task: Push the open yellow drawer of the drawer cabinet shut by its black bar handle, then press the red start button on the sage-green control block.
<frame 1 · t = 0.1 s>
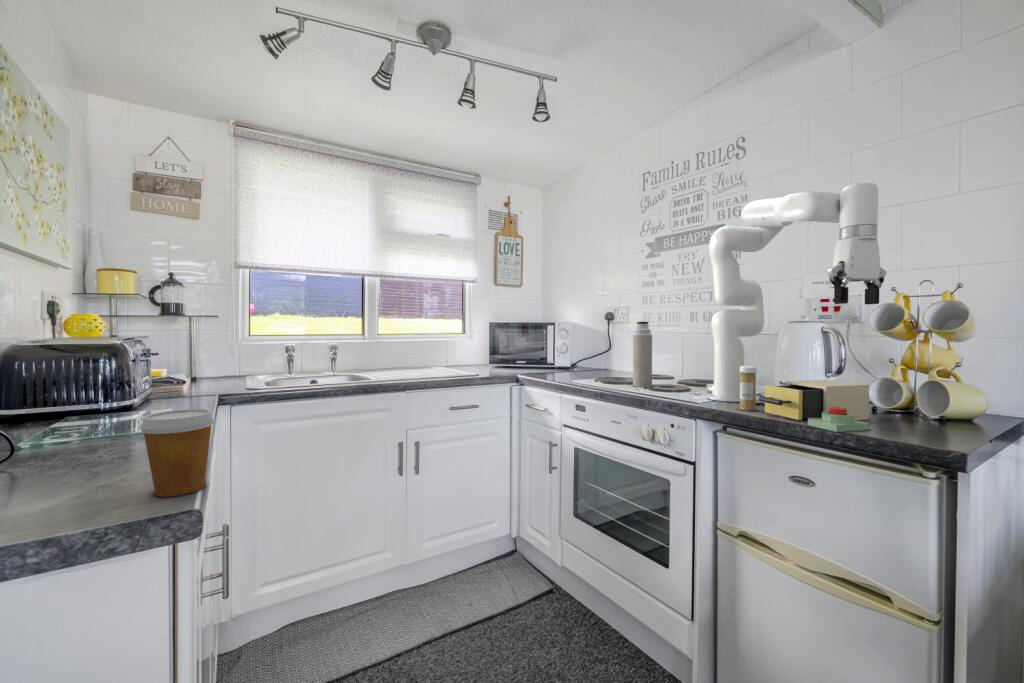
hand: (856, 303, 111), 31 cm above the worktop, tool pointing down, fingers open, 9 cm apart
sprinkles bottle: (747, 410, 137), on the worktop
thermos bottle: (642, 386, 194), on the worktop
drawer cabinet: (826, 416, 126), on the worktop
yellow drawer: (794, 401, 124), point 5 cm above the worktop, slide at 7.0 cm
start button: (838, 411, 112), point 4 cm above the worktop, slide at 0.1 cm
control block: (837, 427, 112), on the worktop
disposable coffee cup: (180, 490, 70), on the worktop
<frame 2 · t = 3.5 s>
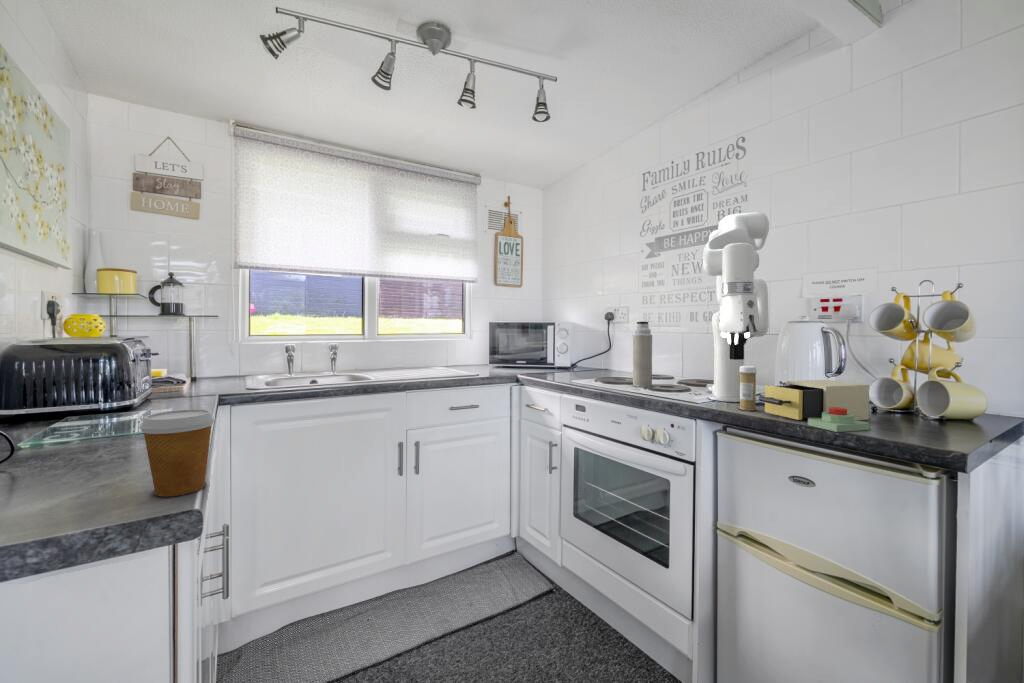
hand: (736, 359, 119), 17 cm above the worktop, tool pointing down, fingers closed
nothing on the worktop moved.
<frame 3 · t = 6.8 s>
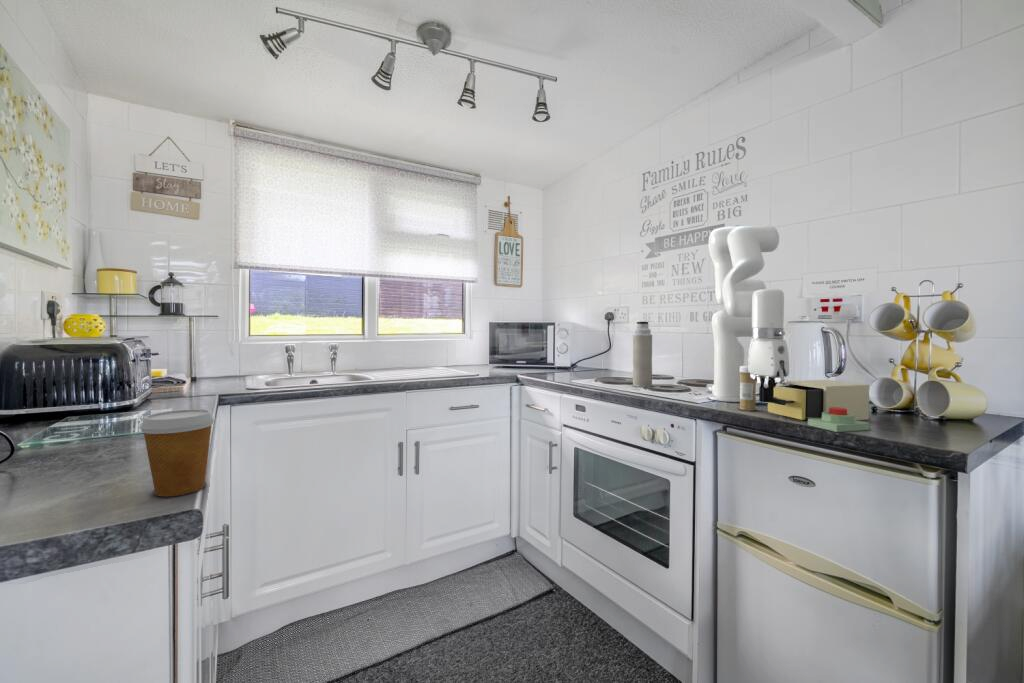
hand: (766, 401, 121), 5 cm above the worktop, tool pointing down, fingers closed
yellow drawer: (797, 401, 124), point 5 cm above the worktop, slide at 6.0 cm, touching gripper
everything else where it was.
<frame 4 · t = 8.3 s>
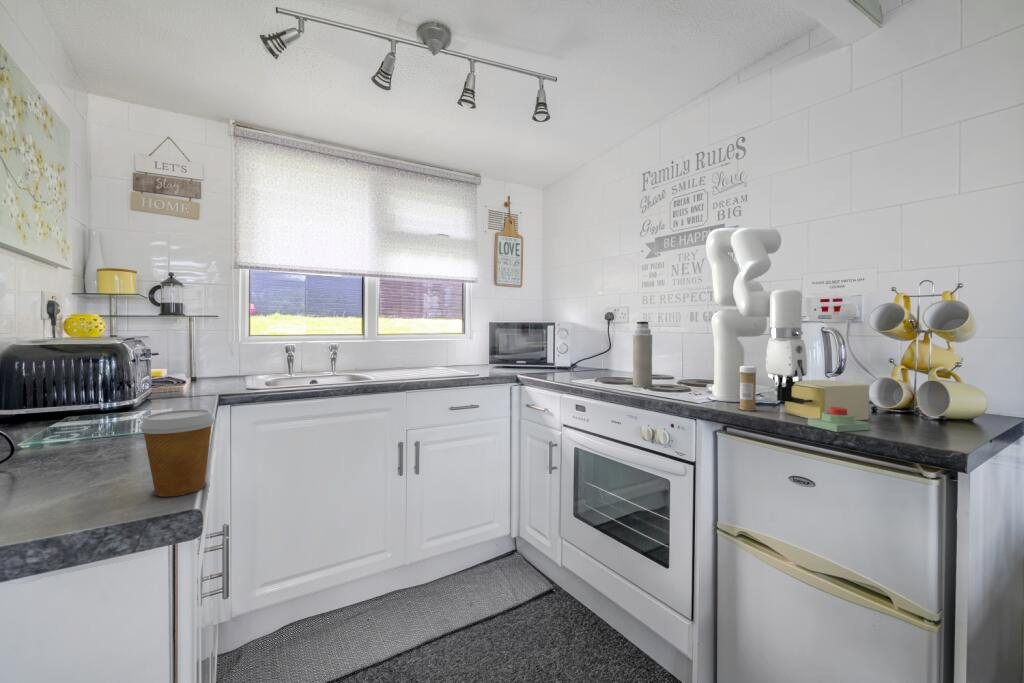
hand: (784, 400, 123), 5 cm above the worktop, tool pointing down, fingers closed
yellow drawer: (815, 400, 125), point 5 cm above the worktop, slide at 0.0 cm, touching drawer cabinet, gripper
everything else where it was.
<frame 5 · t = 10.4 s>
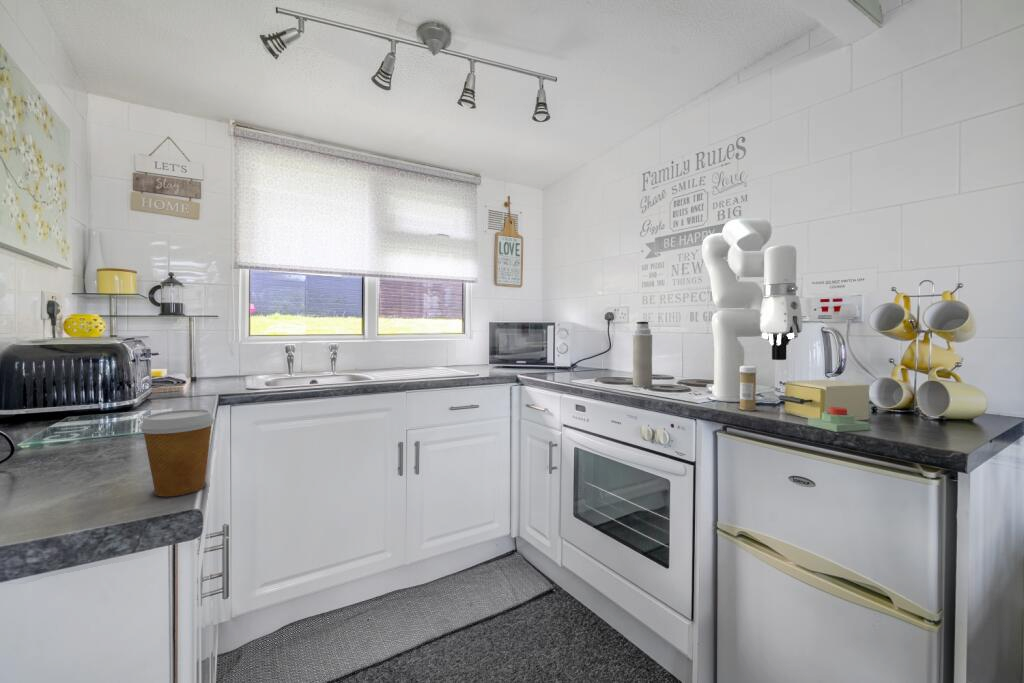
hand: (779, 359, 121), 17 cm above the worktop, tool pointing down, fingers closed
yellow drawer: (815, 400, 125), point 5 cm above the worktop, slide at 0.0 cm, touching drawer cabinet
everything else where it was.
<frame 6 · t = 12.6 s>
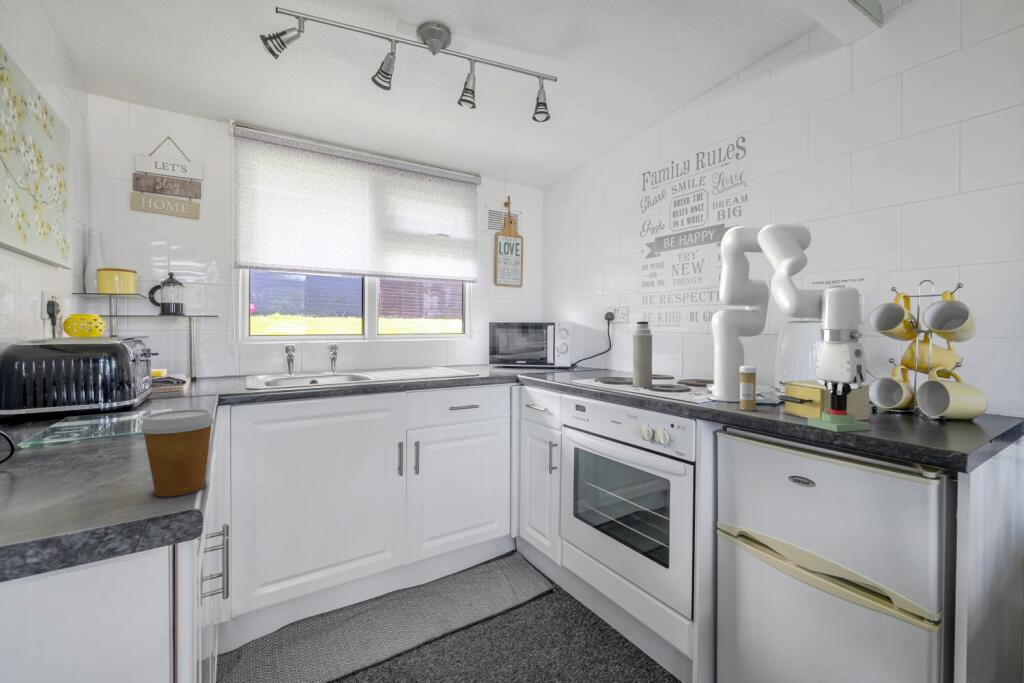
hand: (838, 409, 112), 5 cm above the worktop, tool pointing down, fingers closed
start button: (838, 413, 112), point 4 cm above the worktop, slide at -0.2 cm, touching gripper
everything else where it was.
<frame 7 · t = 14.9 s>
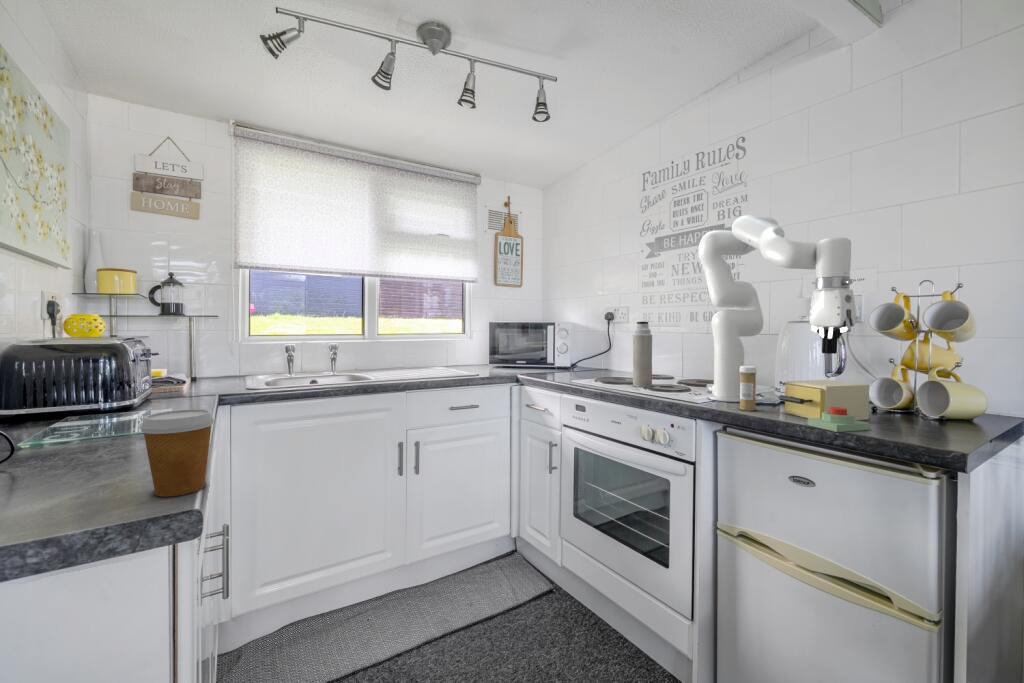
hand: (829, 353, 120), 18 cm above the worktop, tool pointing down, fingers closed
start button: (838, 411, 112), point 4 cm above the worktop, slide at 0.1 cm
everything else where it was.
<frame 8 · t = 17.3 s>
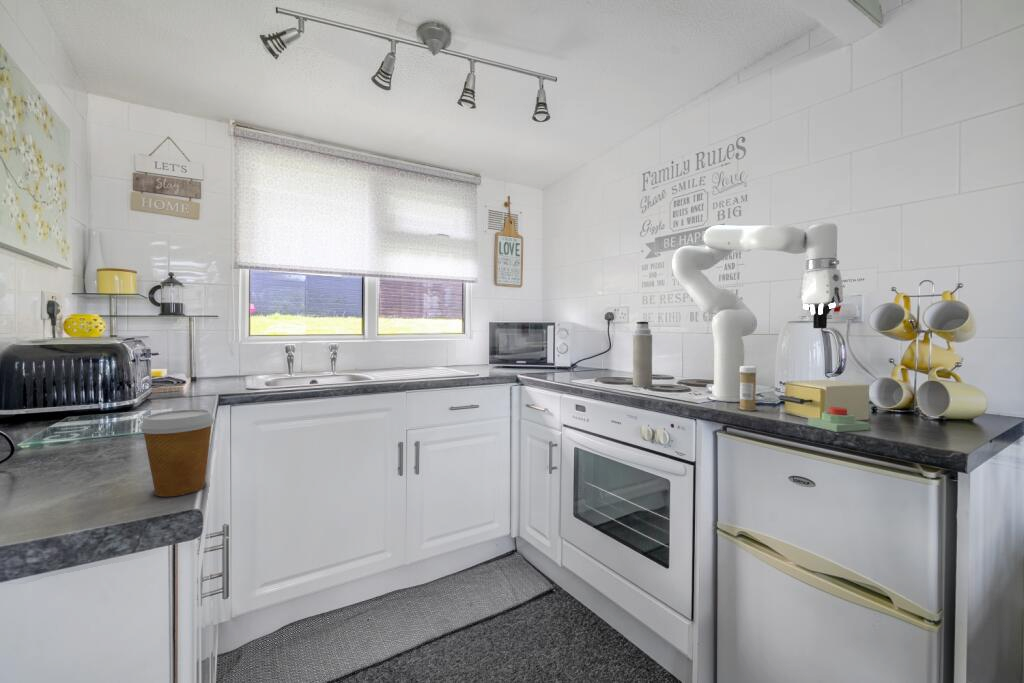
hand: (819, 328, 132), 25 cm above the worktop, tool pointing down, fingers closed
nothing on the worktop moved.
at the end: yellow drawer slide at 0.0 cm; start button pushed in 1.1 cm at the most during the clip and back out by the end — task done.
